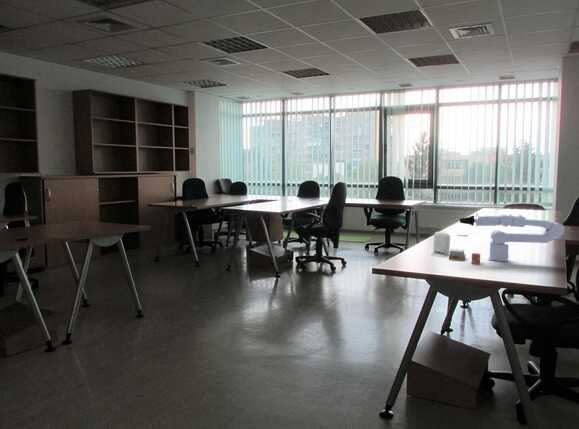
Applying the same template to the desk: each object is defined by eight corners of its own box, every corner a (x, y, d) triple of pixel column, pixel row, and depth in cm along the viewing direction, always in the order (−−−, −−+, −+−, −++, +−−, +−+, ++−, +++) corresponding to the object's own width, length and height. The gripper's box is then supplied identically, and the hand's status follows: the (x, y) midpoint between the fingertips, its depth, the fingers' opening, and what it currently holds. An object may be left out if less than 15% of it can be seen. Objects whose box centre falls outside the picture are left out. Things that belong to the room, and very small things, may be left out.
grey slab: (464, 254, 266) (464, 249, 266) (463, 256, 260) (463, 251, 259) (450, 253, 269) (451, 248, 269) (449, 255, 263) (449, 250, 262)
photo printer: (450, 253, 280) (451, 232, 278) (445, 254, 278) (446, 233, 276) (437, 250, 289) (438, 230, 287) (432, 251, 287) (432, 230, 285)
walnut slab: (465, 258, 267) (465, 254, 266) (464, 261, 259) (464, 256, 259) (450, 257, 270) (450, 253, 269) (448, 259, 262) (449, 255, 262)
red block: (479, 263, 252) (480, 253, 252) (479, 264, 249) (480, 254, 248) (471, 262, 254) (472, 253, 254) (471, 263, 250) (472, 254, 250)
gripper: (485, 213, 269) (459, 213, 273) (487, 213, 255) (460, 213, 260) (485, 225, 269) (459, 226, 273) (487, 226, 255) (460, 226, 259)
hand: (459, 220), depth 266 cm, fingers open, 7 cm apart
